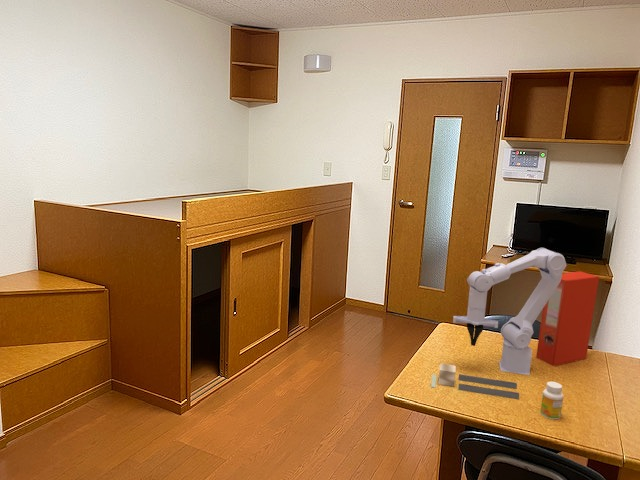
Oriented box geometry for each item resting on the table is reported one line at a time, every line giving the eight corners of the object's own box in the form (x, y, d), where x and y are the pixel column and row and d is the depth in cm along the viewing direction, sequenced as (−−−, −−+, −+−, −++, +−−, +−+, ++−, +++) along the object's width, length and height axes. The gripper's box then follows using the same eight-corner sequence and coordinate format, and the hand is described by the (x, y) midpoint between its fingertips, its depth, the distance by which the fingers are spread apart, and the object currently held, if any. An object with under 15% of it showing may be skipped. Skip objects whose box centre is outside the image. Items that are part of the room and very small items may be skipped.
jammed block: (454, 379, 161) (455, 365, 160) (454, 386, 157) (455, 372, 156) (438, 377, 163) (440, 363, 162) (438, 384, 158) (439, 369, 157)
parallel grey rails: (515, 388, 158) (516, 382, 157) (518, 400, 150) (519, 394, 150) (458, 379, 162) (458, 374, 162) (458, 390, 155) (458, 384, 155)
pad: (456, 378, 163) (456, 378, 163) (456, 391, 155) (456, 390, 155) (432, 374, 165) (432, 374, 165) (430, 387, 157) (430, 386, 157)
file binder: (586, 359, 182) (599, 276, 176) (554, 366, 175) (566, 280, 169) (567, 350, 189) (579, 271, 183) (536, 357, 182) (546, 274, 176)
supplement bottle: (536, 410, 145) (540, 380, 143) (553, 410, 145) (558, 380, 143) (546, 420, 140) (550, 389, 138) (564, 420, 140) (568, 389, 138)
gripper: (454, 308, 164) (451, 346, 166) (500, 313, 160) (495, 352, 162) (454, 301, 170) (451, 338, 173) (498, 306, 166) (494, 344, 169)
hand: (472, 344), depth 168 cm, fingers closed
